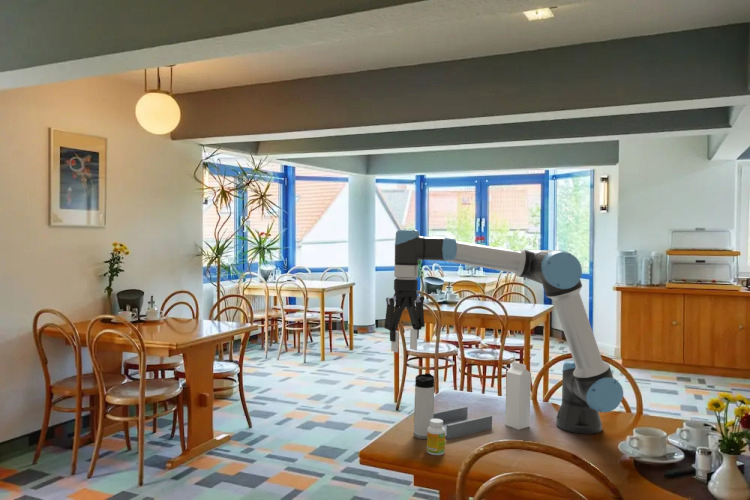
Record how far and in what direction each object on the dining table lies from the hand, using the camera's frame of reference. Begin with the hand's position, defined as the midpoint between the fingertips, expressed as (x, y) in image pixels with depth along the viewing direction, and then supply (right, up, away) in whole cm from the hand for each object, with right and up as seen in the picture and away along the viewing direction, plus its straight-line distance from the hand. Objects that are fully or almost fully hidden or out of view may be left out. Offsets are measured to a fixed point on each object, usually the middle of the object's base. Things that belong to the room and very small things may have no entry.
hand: (404, 350), depth 183 cm
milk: (+41, -30, +18) cm, 54 cm away
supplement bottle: (+9, -30, -8) cm, 32 cm away
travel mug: (+7, -29, +6) cm, 31 cm away
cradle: (+19, -29, +14) cm, 38 cm away
